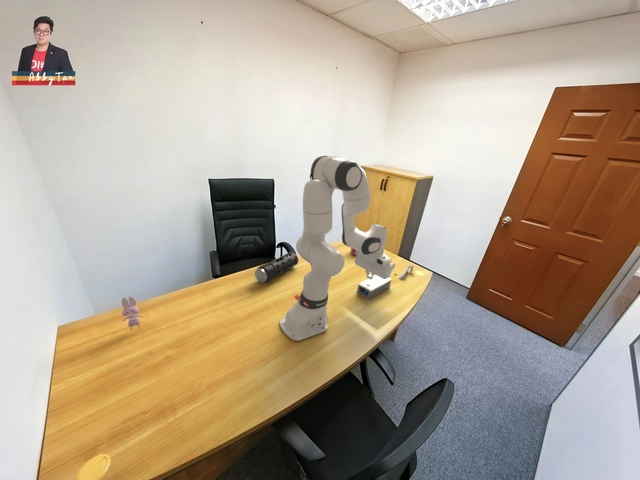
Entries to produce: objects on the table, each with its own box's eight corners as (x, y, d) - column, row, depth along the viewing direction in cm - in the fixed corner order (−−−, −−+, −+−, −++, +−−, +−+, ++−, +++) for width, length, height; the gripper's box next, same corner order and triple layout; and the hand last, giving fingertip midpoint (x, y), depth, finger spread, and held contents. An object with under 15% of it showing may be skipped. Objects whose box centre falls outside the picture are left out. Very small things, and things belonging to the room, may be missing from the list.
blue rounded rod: (366, 293, 125) (367, 290, 124) (364, 291, 126) (364, 289, 126) (383, 284, 135) (383, 281, 134) (380, 283, 136) (381, 280, 136)
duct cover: (370, 291, 120) (371, 289, 119) (358, 284, 126) (358, 283, 125) (391, 280, 133) (392, 278, 132) (379, 274, 138) (379, 272, 138)
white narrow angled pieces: (392, 266, 162) (394, 259, 160) (411, 272, 155) (413, 266, 153) (385, 274, 150) (387, 267, 148) (406, 281, 143) (408, 274, 141)
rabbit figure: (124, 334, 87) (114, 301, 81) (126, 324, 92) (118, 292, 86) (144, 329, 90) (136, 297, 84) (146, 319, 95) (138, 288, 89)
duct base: (368, 299, 122) (370, 292, 120) (357, 292, 127) (358, 285, 126) (389, 287, 135) (391, 280, 133) (378, 281, 140) (379, 274, 138)
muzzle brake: (298, 268, 145) (299, 254, 142) (266, 288, 123) (266, 271, 119) (286, 264, 150) (287, 249, 146) (253, 281, 127) (253, 265, 124)
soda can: (361, 255, 172) (364, 240, 168) (356, 258, 167) (358, 243, 163) (353, 252, 176) (356, 237, 172) (348, 254, 172) (350, 239, 167)
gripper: (354, 249, 123) (350, 271, 128) (387, 264, 109) (381, 289, 114) (361, 246, 127) (358, 268, 132) (394, 261, 113) (388, 285, 118)
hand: (369, 278), depth 123 cm, fingers closed
